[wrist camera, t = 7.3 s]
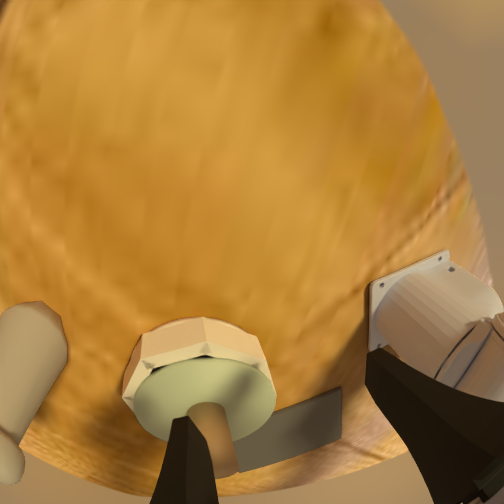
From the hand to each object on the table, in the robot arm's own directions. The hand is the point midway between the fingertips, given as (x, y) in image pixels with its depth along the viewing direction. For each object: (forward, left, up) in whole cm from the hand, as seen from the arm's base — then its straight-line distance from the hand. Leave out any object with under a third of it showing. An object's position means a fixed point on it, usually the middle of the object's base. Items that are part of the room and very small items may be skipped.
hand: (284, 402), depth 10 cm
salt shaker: (+15, -1, -11) cm, 18 cm away
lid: (+5, +8, -7) cm, 12 cm away
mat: (0, +22, -10) cm, 24 cm away
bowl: (+5, +7, -10) cm, 13 cm away
